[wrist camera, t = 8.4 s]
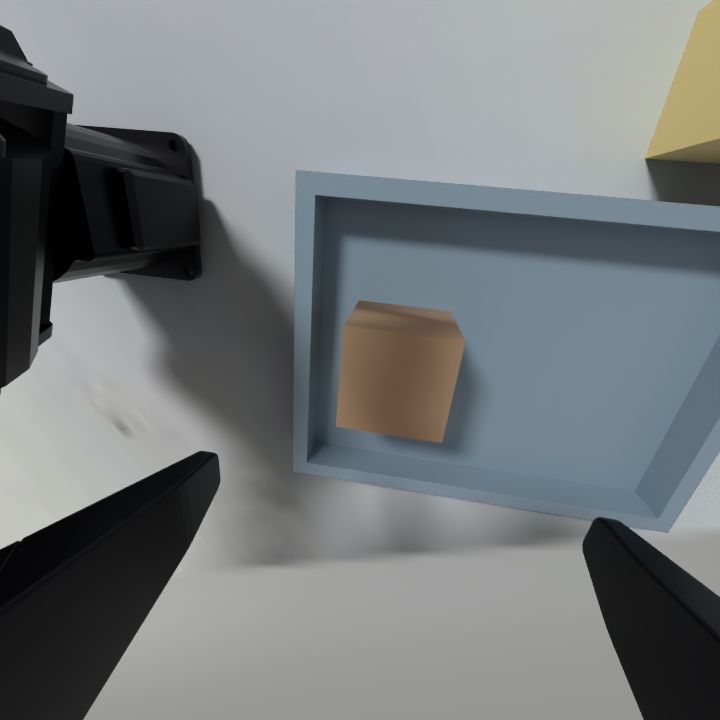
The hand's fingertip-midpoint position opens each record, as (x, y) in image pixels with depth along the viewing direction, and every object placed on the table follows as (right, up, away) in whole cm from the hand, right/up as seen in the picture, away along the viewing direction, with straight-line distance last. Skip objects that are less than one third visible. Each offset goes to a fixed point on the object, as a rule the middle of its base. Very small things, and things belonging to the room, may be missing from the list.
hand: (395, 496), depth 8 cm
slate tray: (+6, +3, +9) cm, 12 cm away
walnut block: (+1, +4, +9) cm, 10 cm away
